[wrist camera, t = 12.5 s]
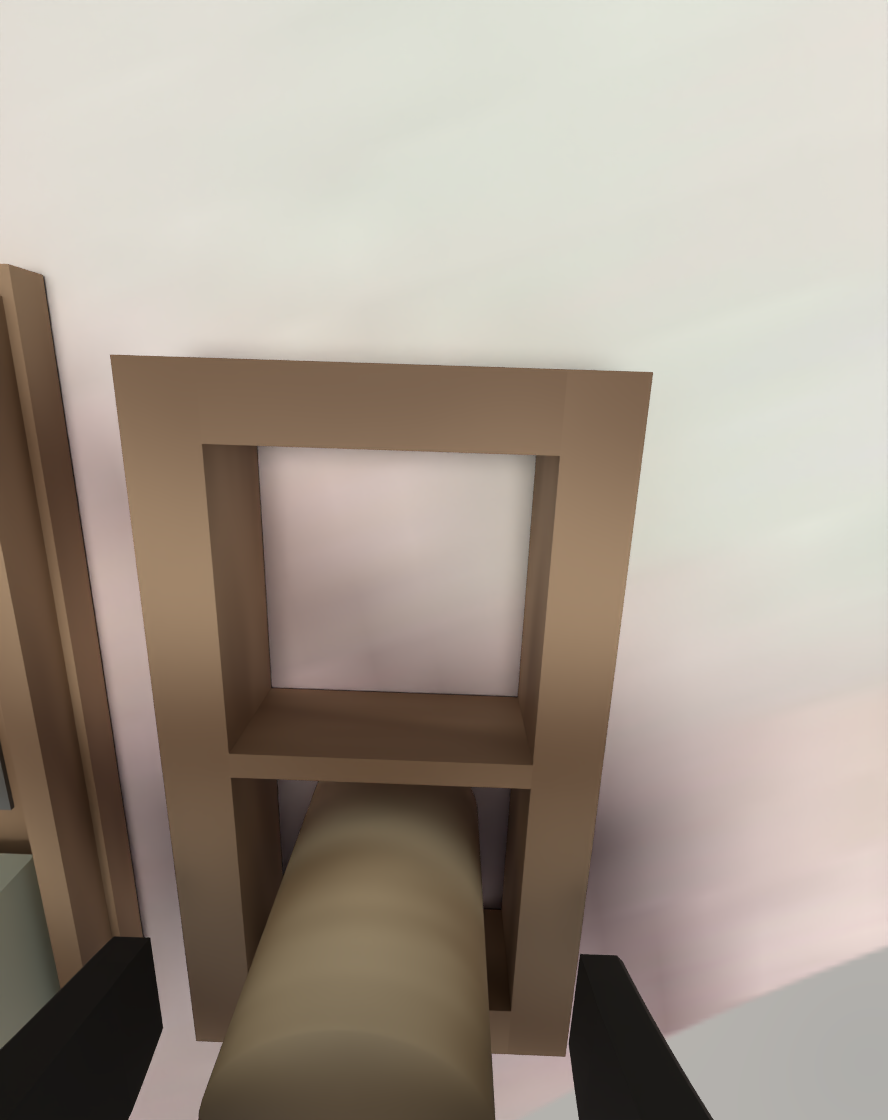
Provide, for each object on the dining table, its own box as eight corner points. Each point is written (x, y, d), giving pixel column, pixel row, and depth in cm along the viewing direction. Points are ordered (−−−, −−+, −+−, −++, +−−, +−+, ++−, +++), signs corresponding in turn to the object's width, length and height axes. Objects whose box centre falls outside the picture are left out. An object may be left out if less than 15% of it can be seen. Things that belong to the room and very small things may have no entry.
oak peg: (478, 882, 14) (497, 1233, 8) (319, 883, 14) (221, 1232, 8) (476, 741, 13) (495, 1028, 7) (303, 744, 13) (175, 1030, 7)
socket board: (546, 949, 14) (565, 1056, 12) (238, 937, 14) (196, 1040, 12) (608, 379, 10) (652, 373, 8) (186, 366, 10) (110, 354, 8)
